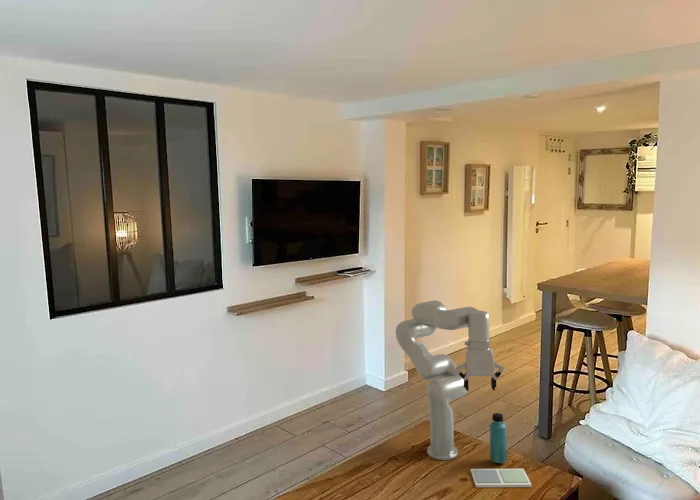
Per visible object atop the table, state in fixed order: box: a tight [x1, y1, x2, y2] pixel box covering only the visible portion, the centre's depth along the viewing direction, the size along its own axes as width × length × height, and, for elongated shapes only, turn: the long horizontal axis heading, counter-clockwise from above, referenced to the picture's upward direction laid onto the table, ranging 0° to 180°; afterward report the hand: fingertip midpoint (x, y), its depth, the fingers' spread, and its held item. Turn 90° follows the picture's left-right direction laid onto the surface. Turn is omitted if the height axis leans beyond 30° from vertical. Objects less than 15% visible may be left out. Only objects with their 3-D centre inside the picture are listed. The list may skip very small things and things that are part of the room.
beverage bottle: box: [489, 412, 508, 464], centre depth 206 cm, size 6×7×20 cm
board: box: [470, 468, 533, 488], centre depth 195 cm, size 20×11×1 cm, turn 87°
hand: (479, 389), depth 193 cm, fingers open, 9 cm apart
